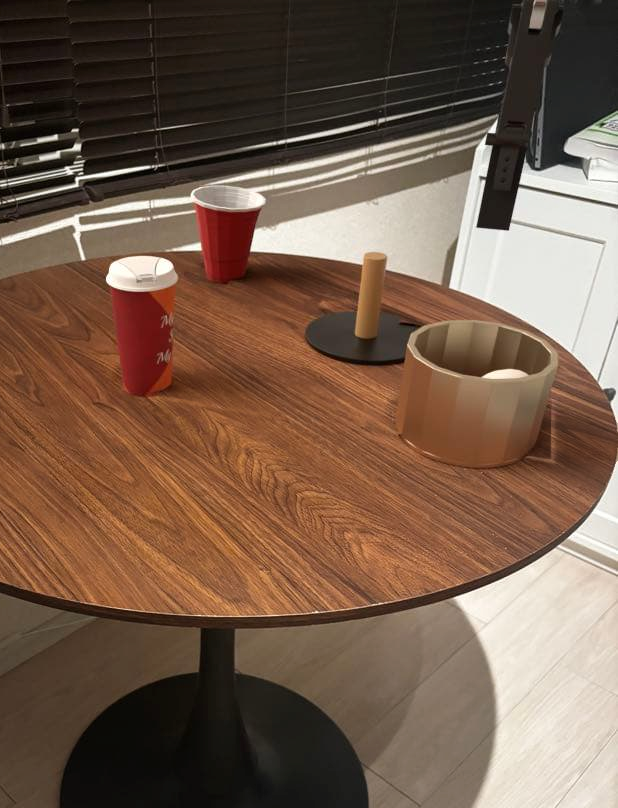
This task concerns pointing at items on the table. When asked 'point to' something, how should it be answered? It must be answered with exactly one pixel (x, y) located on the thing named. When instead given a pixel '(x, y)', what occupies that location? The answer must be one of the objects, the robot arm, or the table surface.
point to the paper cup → (144, 321)
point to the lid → (363, 324)
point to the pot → (474, 392)
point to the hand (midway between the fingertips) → (495, 207)
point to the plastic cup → (226, 228)
